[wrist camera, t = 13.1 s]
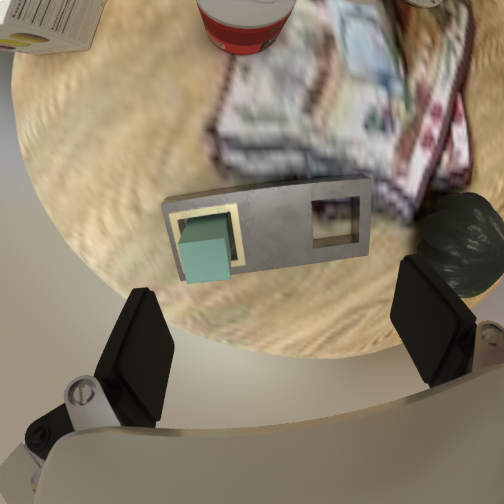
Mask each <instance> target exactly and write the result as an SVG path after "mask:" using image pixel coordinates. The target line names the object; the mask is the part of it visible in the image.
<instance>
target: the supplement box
mask: <svg viewBox="0 0 504 504" xmlns="http://www.w3.org/2000/svg"><path fill="white" fill-rule="evenodd" d="M105 3H106V0H0V50H7V51H13V52H20V53H26V54H31V55H37V56H39V55H45V54H53V53H61V52H71V51H84V50H89V49H90V46H91V43H92V40H93V36H94V33H95V30H96V27H97V24H98V21H99V18H100V16H101V13H102V10H103V8H104V5H105Z"/></svg>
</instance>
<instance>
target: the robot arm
mask: <svg viewBox="0 0 504 504" xmlns="http://www.w3.org/2000/svg"><path fill="white" fill-rule="evenodd" d="M404 1H406V2H408V3H410V4H412V5H415V6H417V7H422V8H431V7H434V6H437V5H439V4H440V3H441V2H442V0H404ZM390 319H391V322H392V324H393V325H394V327H395V329H396V331H397V332H398V334H399V336H400V338H401V340H402V341H403V343H404V345H405V347H406V349H407V351H408V352H409V354H410V356H411V358H412V360H413V362H414V364H415V366H416V368H417V370H418V372H419V374H420V376H421V378H422V380H423V381H424V382H425V383H428V385H429V387H430V389H428V390H425V391H422V392H419V393H416V394H413V395H410V396H407V397H404V398H401V399H398V400H395V401H391V402H388V403H384V404H381V405H377V406H373V407H369V408H366V409H361V410H357V411H353V412H349V413H344V414H339V415H335V416H330V417H324V418H319V419H313V420H307V421H301V422H294V423H286V424H278V425H269V426H259V427H246V428H227V429H166V428H163V429H162V428H155V426H156V421H160V419H161V414H162V409H163V404H164V398H165V393H166V388H167V383H168V378H169V373H170V368H171V363H172V359H173V354H174V341H173V339H172V336H171V334H170V332H169V329H168V326H167V324H166V321H165V319H164V316H163V314H162V311H161V309H160V306H159V303H158V301H157V298H156V295H155V293H154V291H150V290H149V288H147V287H145V288H134V289H133V290H132V291H131V293H130V295H129V297H128V299H127V301H126V303H125V305H124V307H123V309H122V311H121V313H120V316H119V318H118V320H117V322H116V324H115V326H114V328H113V330H112V333H111V335H110V337H109V339H108V342H107V344H106V346H105V349H104V351H103V353H102V355H101V358H100V360H99V362H98V365H97V367H96V370H95V373H94V376H89V375H84V376H80V377H77V378H75V379H74V380H73V381H71V382H70V383H69V384H68V386H67V388H66V390H65V393H64V401H65V403H63V404H62V405H60V406H59V407H57V408H55V409H54V410H52V411H50V412H49V413H48V414H46V415H44V416H42V417H41V418H39V419H37V420H36V421H34V422H33V423H32V424H30V426H29V427H28V429H27V431H26V433H25V444H23V443H21V444H20V445H19V446H18V447H17V448H16V449H15V450H14V451H13V452H12V453H11V454H10V456H9V457H8V458H7V459H6V460H5V461H4V462H3V463H2V465H0V492H1V493H2V495H3V497H4V499H5V500H6V502H7V504H504V328H503V327H502V326H501V325H500V324H498V323H496V322H494V321H489V320H487V321H483V322H481V323H479V325H478V326H477V325H476V323H475V321H476V319H477V318H476V317H475V315H474V314H473V313H472V312H471V310H470V309H469V308H468V307H467V306H466V304H465V303H464V302H463V301H462V300H461V298H460V297H459V296H458V295H457V294H456V293H455V292H454V290H453V289H452V288H451V287H450V286H449V285H448V284H447V283H446V281H445V280H444V279H443V278H442V277H441V276H440V275H439V274H438V273H437V272H436V271H435V270H434V268H433V267H432V266H431V265H430V264H429V263H428V262H427V261H426V260H425V259H424V258H423V257H422V256H421V255H420V254H412V255H406V256H405V257H404V259H403V260H401V262H400V267H399V272H398V278H397V283H396V288H395V293H394V298H393V303H392V307H391V312H390Z"/></svg>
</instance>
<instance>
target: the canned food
mask: <svg viewBox="0 0 504 504" xmlns="http://www.w3.org/2000/svg"><path fill="white" fill-rule="evenodd" d="M196 1H197V5H198V8H199V11H200V14H201V16H202V19H203V22H204V25H205V28H206V31H207V34H208V36H209V38H210V39H211V41H212V42H213V43H214V44H215V45H216V46H218V47H219V48H221V49H222V50H225V51H227V52H230V53H234V54H241V55H246V54H254V53H258V52H260V51H263V50H265V49H266V48H268V47H269V46H270V45H271V44H272V43H273V42H274V41H275V39H276V38H277V36H278V35H279V33H280V31H281V29H282V28H283V26H284V24H285V22H286V21H287V19H288V17H289V16H290V14H291V12H292V10H293V8H294V6H295V3H296V0H196Z"/></svg>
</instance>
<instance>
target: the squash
mask: <svg viewBox="0 0 504 504" xmlns="http://www.w3.org/2000/svg"><path fill="white" fill-rule="evenodd" d="M420 228H421V233H422V236H423V238H424V239H423V240H421V242H420V243H419V245H418V249H417V253H418V254H420V255H421V256H422V257H423V258H424V259H425V260H426V261H427V262H428V263H429V264H430V265H431V266H432V267H433V268H434V270H435V271H436V272H437V273H438V274H439V275H440V276H441V277H442V278H443V279H444V280H445V281H446V283H447V284H448V285H449V286H450V287H451V288H452V289H453V290H454V292H455V293H456V294H457V295H458V296H459V297H460V298H471V297H475V296H478V295H479V294H481V293H483V292H485V291H486V290H487V289H488V288H490V287H491V286H492V285H493V284H494V283H495V282H496V281H497V280H498V279H499V278H500V277H501V276H502V275H503V273H504V222H503V220H502V218H501V217H500V216H499V214H498V213H497V212H496V211H495V210H494V209H493V207H492V205H491V204H490V203H489V202H488V201H487V200H486V199H485V198H484V197H482V196H480V195H478V194H476V193H471V192H466V193H462V194H450V195H448V196H444V197H442V198H440V199H439V200H438V201H437V202H436V203H435V205H434V209H433V214H430V215H427V216H425V217H424V218H423V219H422V221H421V223H420Z"/></svg>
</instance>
